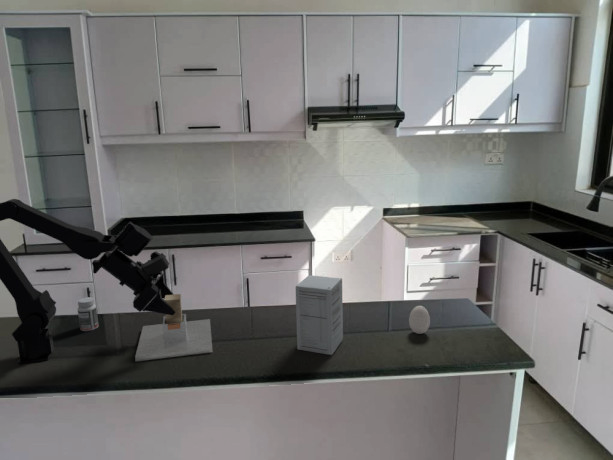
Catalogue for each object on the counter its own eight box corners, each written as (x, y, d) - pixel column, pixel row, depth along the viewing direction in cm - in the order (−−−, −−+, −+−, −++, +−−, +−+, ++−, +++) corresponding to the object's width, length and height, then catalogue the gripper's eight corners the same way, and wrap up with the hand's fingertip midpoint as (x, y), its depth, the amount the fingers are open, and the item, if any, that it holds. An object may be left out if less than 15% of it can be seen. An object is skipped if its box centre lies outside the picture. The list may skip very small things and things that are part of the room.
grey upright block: (343, 339, 120) (344, 277, 116) (332, 356, 111) (332, 289, 108) (309, 334, 123) (308, 274, 120) (295, 349, 115) (294, 285, 111)
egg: (431, 337, 120) (432, 310, 119) (410, 337, 121) (411, 310, 119) (427, 328, 125) (428, 302, 124) (407, 328, 126) (408, 302, 124)
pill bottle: (93, 323, 132) (90, 295, 131) (101, 327, 129) (98, 299, 128) (76, 328, 129) (73, 300, 127) (85, 333, 126) (81, 304, 124)
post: (167, 339, 118) (163, 300, 116) (168, 332, 122) (164, 295, 119) (183, 337, 119) (180, 299, 117) (183, 331, 123) (180, 293, 120)
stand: (135, 361, 110) (133, 338, 109) (143, 330, 127) (141, 309, 126) (212, 352, 114) (211, 329, 113) (210, 323, 131) (208, 303, 130)
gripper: (143, 255, 105) (196, 296, 110) (150, 236, 123) (196, 272, 128) (110, 291, 105) (164, 330, 110) (122, 267, 123) (169, 302, 128)
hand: (175, 306), depth 119 cm, fingers open, 9 cm apart
